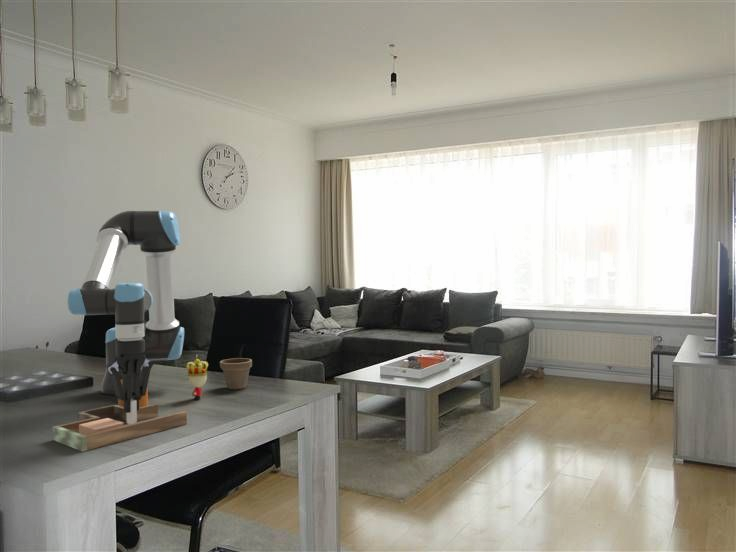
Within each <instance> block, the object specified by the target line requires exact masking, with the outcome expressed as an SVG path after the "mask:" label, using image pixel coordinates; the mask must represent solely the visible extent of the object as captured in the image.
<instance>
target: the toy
mask: <svg viewBox="0 0 736 552" xmlns="http://www.w3.org/2000/svg"><path fill="white" fill-rule="evenodd" d="M195 357H196V359H195V360H194V361H189V362H187V364H186V366H185V368H186V370H187V382H188V384H189V385H190V387H193V388H194V390H193V391H192V395H191V396H192V397H194V398H193V400H195V401H199V400H200V399H201V396H203V393H202V388H201V387H203V386H204V385H205V383H206V382H207V378H208V376H207V375H208V371H207V370H208V367H209V363H208V361H205V360H204V361H203V360H200V359H199V358H198V355H196V356H195Z"/></svg>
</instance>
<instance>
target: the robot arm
mask: <svg viewBox="0 0 736 552" xmlns="http://www.w3.org/2000/svg"><path fill="white" fill-rule="evenodd" d="M96 241H97V242H96V243H97V246H96V248H95V251H94V253H93V256H92V258H91V261H90V264H89V266H88V269H87V271H86V274H85V278H84V281H83V282H82V286H81V288H73V289H71V290H70V291H69V292H68V295H67V308H68V311H69V312H70V314H71V315H76V316H98V315H114V317H115V323H114V324H115V326H114V327H112V328H110V329H108V330H107V331H106V332H105V341H104V343H105V365H106V366H105V374H104V376H103V379H102V383H101V386H100V392H101V393H102V394H104V395H111V396H112V395H113V396H114V395H115V398H116V399H117V400H118V399H119V400H123V401H124V412H126V413H127V422H126V424H127V425H130V424H134V423H138V421H137V411H138V410H139V400H140V399H141V397H142V396H145V395H146V390H147V385H148V384H149V379H150V374H151V370H152V368H153V366H154V361H169V360H170V361H172V360H177V359H179V358H181V356H182V352H183V347H184V341H185V328H184V327H182V326H180V321H179V320H178V319H176V317H175V315H176V314H175V299H174V296H175V295H174V278H173V275H174V274H173V257H172V255H173V253H174V252H175V251H176V250H177V247H176V246H179V245H180V243H181V232H180V226H179V222H178V218H177V216H176V214H175V213H174V212H173V211H168V210H167V211H166V210H165V211H164V210H127V211H122V212H119V213H117V214H115V215H113V216H112V217H110V218H109V219H108V220H106V221H105V223H103V225H102V226H101V227H100V228H99V231H98V233H97V235H96ZM131 245H133V246H140V247H139V248H140V252H142V253H143V255H145V267H146V282H147V283H146V285H147V289H146V288H145V287H144V284H143V283H140V282H122V283H117V284H115V286H114V288H111V286H112V283H113V279H114V277H115V274H116V271H117V268H118V264H119V262H120V260H121V259H120V258H121V255H122V252H123V251H124V250H126V248H127V247H128V246H131ZM147 311H148V314H149V315H148V316H149V317H148V318H149V320H148V321H147V322H146V323H145V313H146V312H147ZM121 380H122V383H121ZM148 386H149V385H148ZM131 397H132V399H131Z"/></svg>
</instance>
